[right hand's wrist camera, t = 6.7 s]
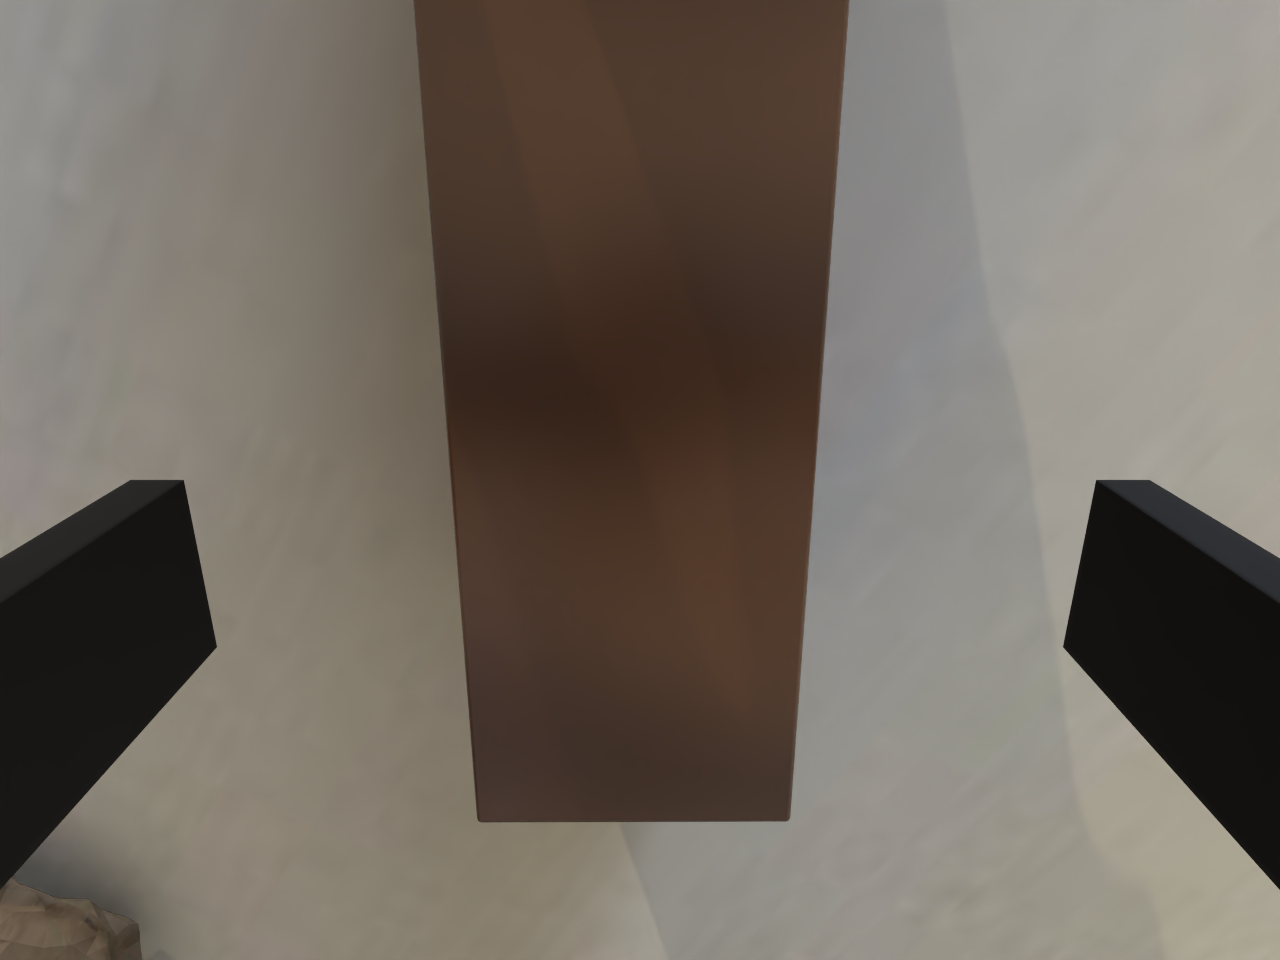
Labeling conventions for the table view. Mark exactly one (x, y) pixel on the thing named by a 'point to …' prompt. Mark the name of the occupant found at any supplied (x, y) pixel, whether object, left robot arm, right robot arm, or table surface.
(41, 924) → the stone
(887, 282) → the table surface
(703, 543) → the walnut beam
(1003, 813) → the table surface
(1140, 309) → the table surface
